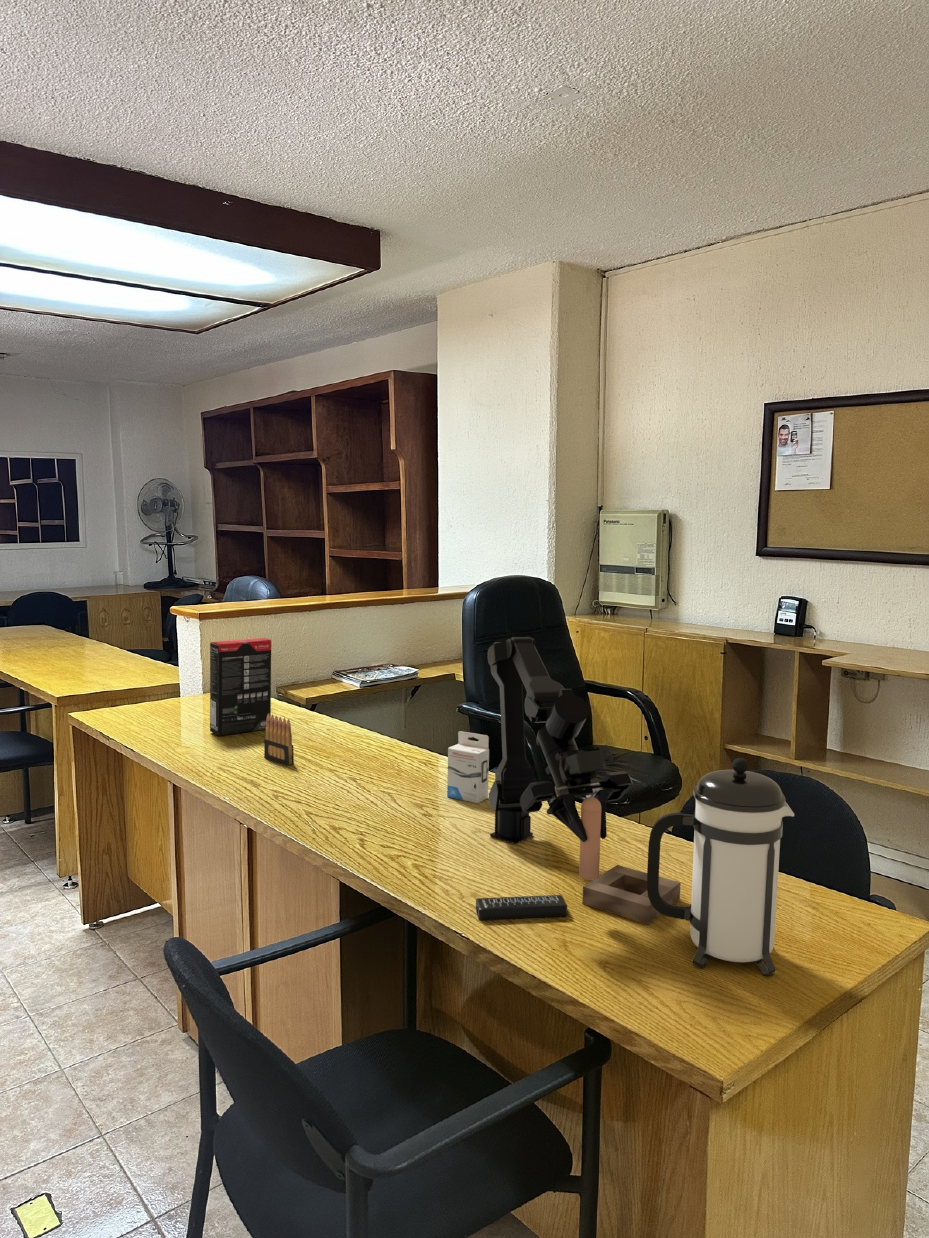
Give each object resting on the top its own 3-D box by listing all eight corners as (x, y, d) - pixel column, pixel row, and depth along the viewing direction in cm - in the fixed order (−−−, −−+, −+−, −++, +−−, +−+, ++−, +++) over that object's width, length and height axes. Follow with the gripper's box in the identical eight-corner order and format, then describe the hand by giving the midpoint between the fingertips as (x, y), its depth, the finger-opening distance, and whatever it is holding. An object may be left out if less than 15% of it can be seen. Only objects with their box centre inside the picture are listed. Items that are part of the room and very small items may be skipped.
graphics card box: (262, 724, 271) (261, 636, 268) (273, 729, 266) (272, 638, 262) (209, 733, 260) (207, 640, 257) (219, 737, 255) (217, 643, 251)
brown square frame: (582, 903, 149) (582, 886, 149) (616, 880, 158) (617, 864, 158) (648, 924, 142) (648, 906, 141) (679, 899, 151) (680, 882, 151)
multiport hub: (567, 919, 144) (567, 905, 144) (479, 923, 142) (479, 909, 142) (561, 907, 148) (561, 894, 148) (475, 911, 146) (475, 897, 146)
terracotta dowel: (575, 876, 143) (577, 797, 142) (585, 870, 146) (587, 793, 144) (592, 881, 141) (595, 802, 140) (602, 875, 144) (605, 797, 142)
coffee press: (725, 920, 143) (734, 739, 140) (806, 965, 129) (818, 764, 126) (641, 944, 135) (648, 751, 131) (717, 994, 121) (727, 780, 118)
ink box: (446, 797, 204) (446, 734, 202) (456, 791, 208) (457, 730, 206) (478, 803, 200) (479, 739, 198) (489, 797, 204) (490, 735, 202)
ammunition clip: (264, 757, 235) (263, 713, 233) (269, 756, 236) (269, 712, 235) (288, 766, 227) (287, 720, 226) (294, 764, 229) (293, 718, 227)
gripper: (529, 734, 140) (563, 824, 132) (628, 724, 148) (666, 808, 139) (506, 768, 149) (536, 856, 140) (601, 757, 156) (635, 839, 147)
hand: (595, 839), depth 141 cm, fingers closed on terracotta dowel, 3 cm apart
